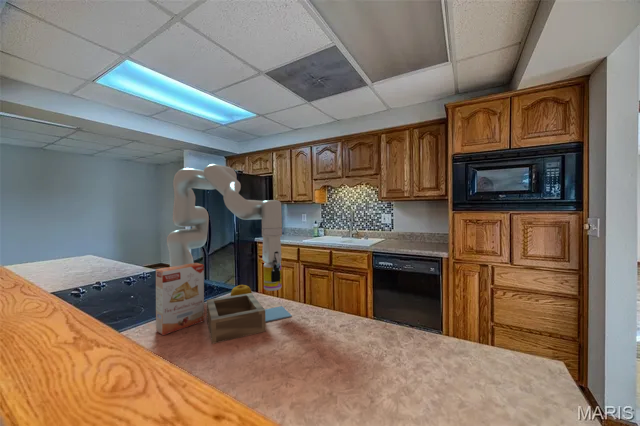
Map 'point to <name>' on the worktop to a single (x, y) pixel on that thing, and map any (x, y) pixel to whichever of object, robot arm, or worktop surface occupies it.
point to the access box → (235, 317)
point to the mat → (276, 314)
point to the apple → (240, 290)
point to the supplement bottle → (267, 278)
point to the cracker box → (179, 297)
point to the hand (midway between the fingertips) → (272, 278)
